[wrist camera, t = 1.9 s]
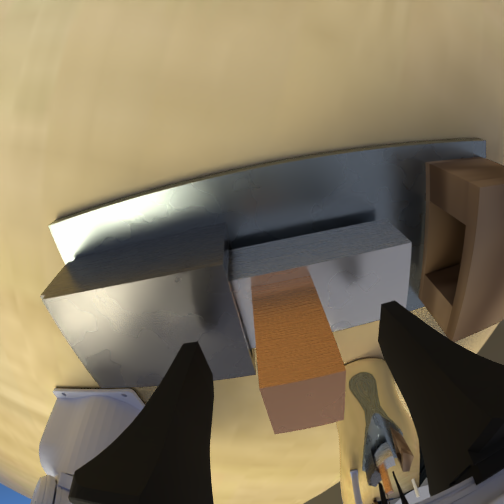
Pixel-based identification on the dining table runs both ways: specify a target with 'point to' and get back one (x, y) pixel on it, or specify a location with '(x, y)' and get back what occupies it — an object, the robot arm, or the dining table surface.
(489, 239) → the socket block
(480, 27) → the dining table surface
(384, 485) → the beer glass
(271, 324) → the grey slider with handle
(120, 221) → the outer sleeve
